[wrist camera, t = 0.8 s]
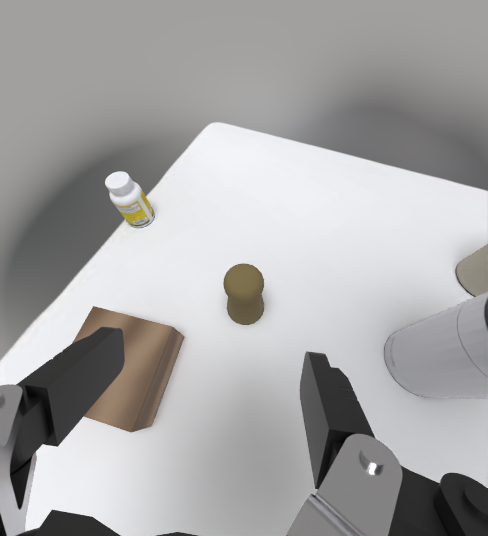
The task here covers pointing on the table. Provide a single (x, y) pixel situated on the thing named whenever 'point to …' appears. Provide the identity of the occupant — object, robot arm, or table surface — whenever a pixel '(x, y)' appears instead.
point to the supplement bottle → (129, 199)
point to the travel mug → (474, 272)
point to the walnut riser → (134, 369)
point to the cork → (244, 293)
